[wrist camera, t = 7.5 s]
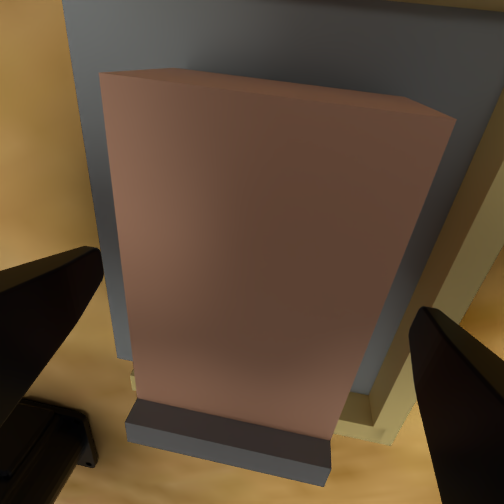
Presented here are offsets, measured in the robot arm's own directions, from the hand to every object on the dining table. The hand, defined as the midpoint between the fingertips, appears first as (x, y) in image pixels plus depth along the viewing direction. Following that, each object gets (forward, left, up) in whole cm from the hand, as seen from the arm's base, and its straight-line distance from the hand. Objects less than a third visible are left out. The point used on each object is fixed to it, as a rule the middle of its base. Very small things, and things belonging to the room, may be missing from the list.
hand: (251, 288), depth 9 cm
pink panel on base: (0, 0, -3) cm, 3 cm away
